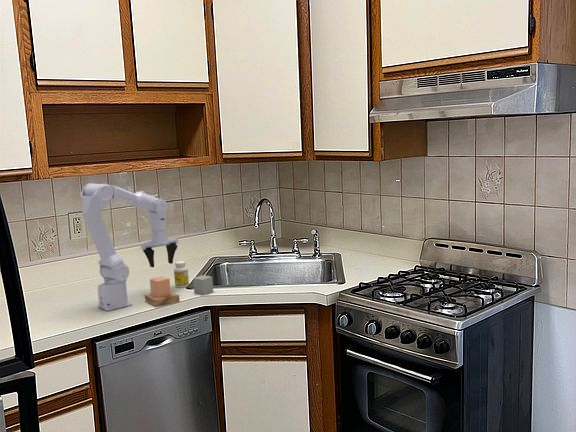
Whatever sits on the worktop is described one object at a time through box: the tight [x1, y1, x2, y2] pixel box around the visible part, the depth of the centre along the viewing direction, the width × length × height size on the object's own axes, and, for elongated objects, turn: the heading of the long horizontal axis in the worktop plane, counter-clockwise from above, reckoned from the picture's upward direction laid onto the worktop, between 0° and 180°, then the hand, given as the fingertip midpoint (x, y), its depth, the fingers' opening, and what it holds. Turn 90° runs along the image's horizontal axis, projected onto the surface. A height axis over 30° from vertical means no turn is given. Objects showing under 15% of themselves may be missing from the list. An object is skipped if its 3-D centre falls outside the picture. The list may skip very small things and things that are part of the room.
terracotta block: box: [149, 276, 172, 298], centre depth 207 cm, size 5×5×6 cm
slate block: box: [192, 274, 214, 296], centre depth 217 cm, size 5×5×6 cm
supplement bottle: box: [173, 260, 190, 289], centre depth 228 cm, size 5×5×10 cm
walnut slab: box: [144, 291, 180, 308], centre depth 208 cm, size 9×9×3 cm
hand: (161, 265), depth 220 cm, fingers open, 7 cm apart
